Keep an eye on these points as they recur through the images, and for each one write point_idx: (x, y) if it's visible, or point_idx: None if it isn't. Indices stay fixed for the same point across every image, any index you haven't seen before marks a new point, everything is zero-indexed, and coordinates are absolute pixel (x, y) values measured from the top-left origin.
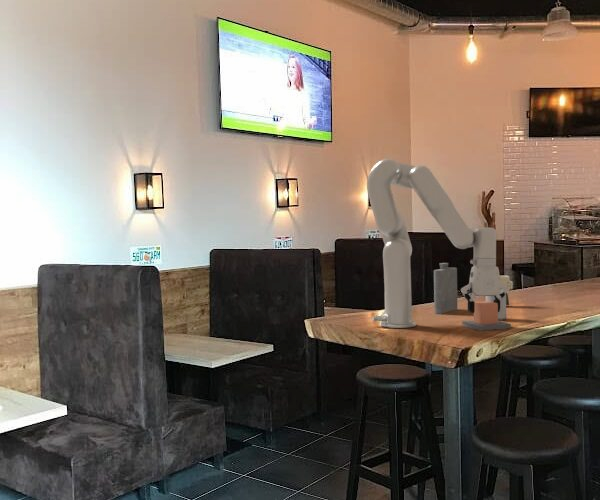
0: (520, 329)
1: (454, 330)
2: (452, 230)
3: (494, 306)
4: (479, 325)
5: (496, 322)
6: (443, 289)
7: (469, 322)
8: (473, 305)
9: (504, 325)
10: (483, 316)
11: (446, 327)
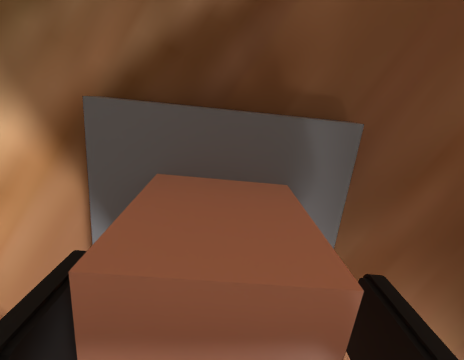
0: (49, 26)
1: (458, 203)
2: None
3: (148, 246)
4: (334, 155)
5: (168, 176)
6: None
7: None
8: (429, 334)
9: (143, 102)
10: (290, 207)
11: (417, 299)
